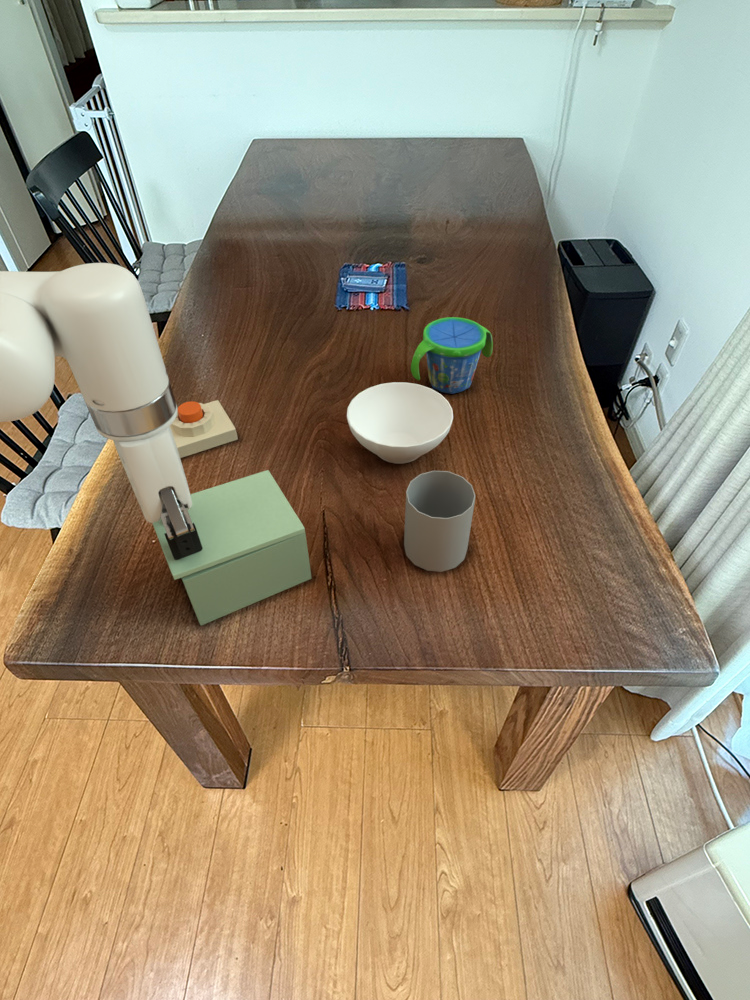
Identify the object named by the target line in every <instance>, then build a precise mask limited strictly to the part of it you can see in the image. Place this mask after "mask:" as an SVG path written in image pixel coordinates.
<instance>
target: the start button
mask: <svg viewBox="0 0 750 1000" xmlns="http://www.w3.org/2000/svg"><path fill="white" fill-rule="evenodd" d="M199 403H200V402H197V401H192V400H191V401H185V402H183V403H181V404H180V405H179V406H177V408H178V414H179V417H180V420H181V421H182V422H183V423H194V422H197V421H199V420H200V419H202V418H203V412H202V408H201V405H200V404H199Z"/></svg>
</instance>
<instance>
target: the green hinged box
mask: <svg viewBox="0 0 750 1000" xmlns="http://www.w3.org/2000/svg"><path fill="white" fill-rule="evenodd" d="M311 571H312V570H311V564H310V556H309V551H308V542H307V535H306V532H305V533H302V534H299V535H297V536H294V537H291V538H288V539H286V540H283V541H280V542H278V543H275V544H272V545H269V546H267V547H264V548H261V549H258V550H256V551H253V552H250V553H247V554H245V555H242V556H239V557H236V558H234V559H231V560H228V561H225V562H223V563H220V564H217V565H214V566H212V567H209V568H206V569H203V570H201V571H198V572H195V573H192V574H190V575H187V576H184V577H181V578H180V579H181V581H182V583H183V585H184V589H185V591H186V593H187V596H188V598H189V601H190V603H191V606H192V609H193V611H194V614H195V616H196V618H197V621H198V623H199V626H200V627H201V626H204V625H207V624H209V623H212V622H213V621H215V620H218V619H220V618H222V617H225V616H228V615H230V614H232V613H235V612H236V611H240V610H241V609H243V608H247V607H248V606H250V605H253V604H256V603H258V602H260V601H262V600H265V599H267V598H269V597H272V596H274V595H276V594H279V593H282V592H283V591H286V590H288V589H291V588H293V587H296V586H298V585H300V584H302V583H305V582H307V581H310V580H312V572H311Z"/></svg>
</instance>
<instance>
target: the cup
mask: <svg viewBox="0 0 750 1000" xmlns="http://www.w3.org/2000/svg"><path fill="white" fill-rule="evenodd" d="M476 497H477V495H476V493H475V489H474V487H473V484H471V483H470V482H469V481H468V480H467V479H466V478H465V477H464V476H462V475H459V474H457V473H454V472H451V471H447V470H431V471H427V472H422V473H420V474H418V475H417V476H416V477H414V478H413V479H412V480H410V481H409V484H408V486H407V488H406V490H405V508H404V509H405V511H404V514H405V515H404V535H403V538H404V539H403V546H404V547H403V548H404V552H405V555H406V557H407V558H408V559H409V561H410V562H412V564H413V565H414V566H416V567H418V568H421V569H423V570H425V571H427V572H441V573H442V572H443V573H444V572H446V571H449V570H453V569H455V568H457V567H458V566H459V565H460V564H461V563H462V562H463V561H464V560H465V559H466V555H467V552H468V547H469V541H470V533H471V527H472V521H473V515H474V509H475V503H476Z"/></svg>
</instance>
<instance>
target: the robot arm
mask: <svg viewBox="0 0 750 1000" xmlns="http://www.w3.org/2000/svg"><path fill="white" fill-rule="evenodd" d="M147 305H148V304H147V301H146V298H145V295H144V293H143V289H142V287H141V284H140V282H139V280H138V278H136V276H135V274H133V273H132V272H131V271H130V270H128V269H127V268H126V267H123V266H121V265H119V264H115V263H110V262H91V263H90V262H89V263H82V264H79V265H78V264H77V265H74V266H71V267H69V268H65V269H63V270H60V271H59V270H58V271H17V270H16V271H15V270H14V271H13V270H0V423H6V422H7V423H8V422H13V421H14V422H15V421H18V420H23V419H25V418H27V417H30V416H32V415H34V414H35V413H37V412H38V411H40V410H41V409H42V408H43V407H44V406H45V404H46V403H47V402H48V400H49V399H50V396H51V395H52V393H53V390H54V385H55V379H56V357H60V358H63V359H65V360H66V361H67V364H68V366H69V368H70V371H71V373H72V375H73V377H74V379H75V383H77V387H78V389H79V391H80V394H81V396H82V398H83V401H84V403H85V405H86V407H87V410H88V413H89V415H90V418H91V419H92V422H93V424H94V427H95V429H96V431H97V432H98V433H99V435H100V436H102V437H103V438H105V439H108V440H110V441H113V444H114V446H115V450H116V453H117V455H118V457H119V460H120V462H121V464H122V468H123V470H124V472H125V475H126V477H127V479H128V482H129V484H130V486H131V488H132V491H133V493H134V496H135V498H136V500H137V503H138V506H139V508H140V510H141V513H142V515H143V518H144V520H145V521H146V522H147V523H149V524H152V523H154V522H156V521H159V520H160V518H161V520H162V523H163V525H164V528H165V530H166V533H165V534H164V535H165V537H166V540H167V542H168V545H169V547H170V550H171V552H172V555H173V558H174V559H175V560H179V559H182V558H184V557H187V556H189V555H192V554H194V553H197V552H200V551H201V550H202V549H203V548H202V545H201V542H200V539H199V536H198V533H197V530H196V526H195V524H194V523H192V521H191V518H190V516H189V513H188V510H187V508H188V509H189V510H190V508H191V507H192V499H191V495H190V494H191V492H190V488H189V484H188V480H187V477H186V473H185V470H184V467H183V463H182V458H180V456H179V453H178V449H177V446H176V443H175V440H174V436H173V433H172V430H171V427H170V425H171V424H172V423H173V421H174V420H175V418H176V417H177V413H178V405H177V401H176V397H175V395H174V392H173V388H172V385H171V381H170V379H169V375H168V372H167V371H168V370H167V368H166V365H165V362H164V359H163V355H162V351H161V349H160V345H159V342H158V338H157V335H156V332H155V328H154V325H153V322H152V318H151V315H150V312H149V309H148V306H147ZM163 504H164V505H165V507H166V508H165V509H162V506H163ZM182 513H183V515H184V517H183V515H182ZM168 516H169V517H170V520H171V522H172V525H173V526H172V527H170V526H169V523H168V521H167V518H166V517H168ZM184 518H185V520H184ZM185 521H186V522H185ZM170 528H171V529H170Z"/></svg>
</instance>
